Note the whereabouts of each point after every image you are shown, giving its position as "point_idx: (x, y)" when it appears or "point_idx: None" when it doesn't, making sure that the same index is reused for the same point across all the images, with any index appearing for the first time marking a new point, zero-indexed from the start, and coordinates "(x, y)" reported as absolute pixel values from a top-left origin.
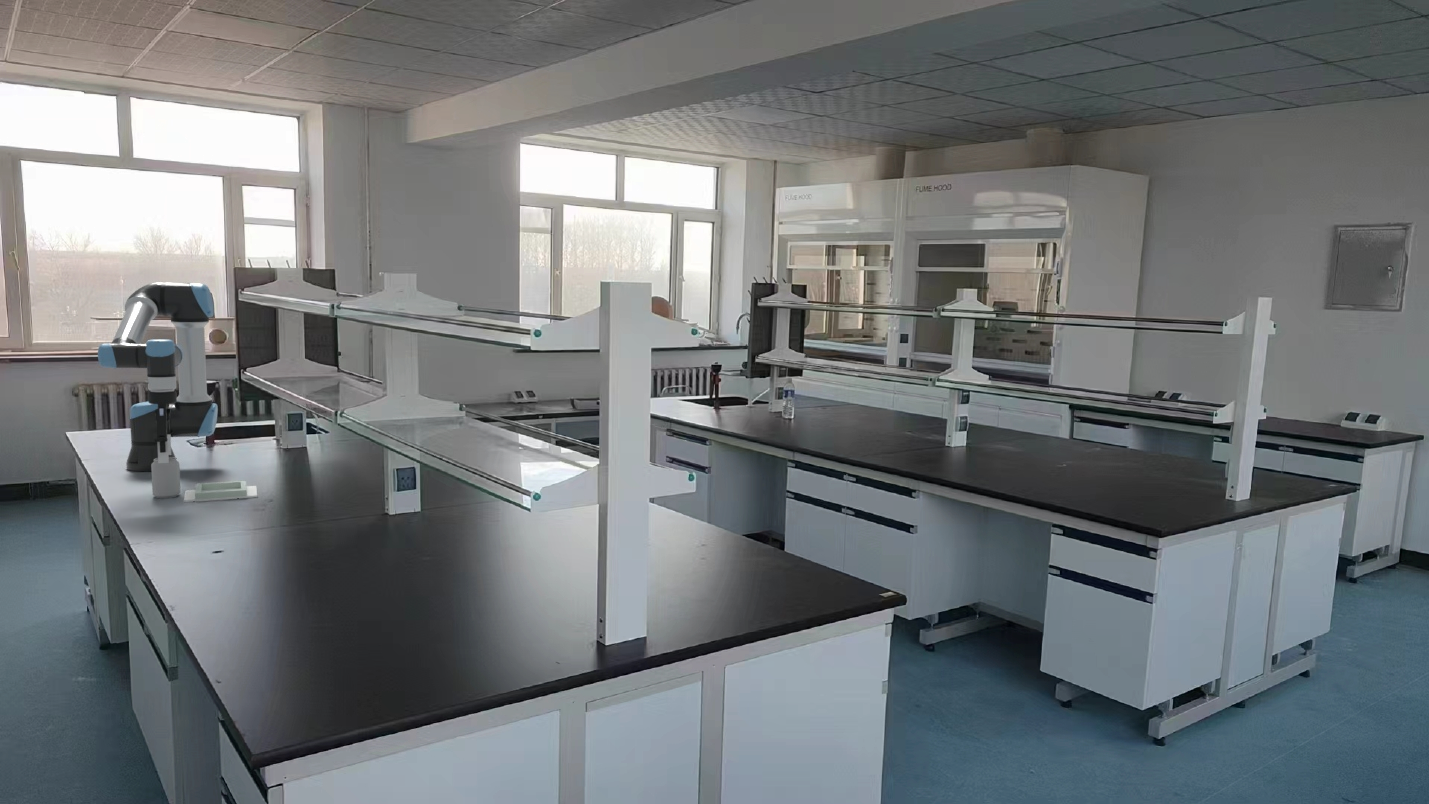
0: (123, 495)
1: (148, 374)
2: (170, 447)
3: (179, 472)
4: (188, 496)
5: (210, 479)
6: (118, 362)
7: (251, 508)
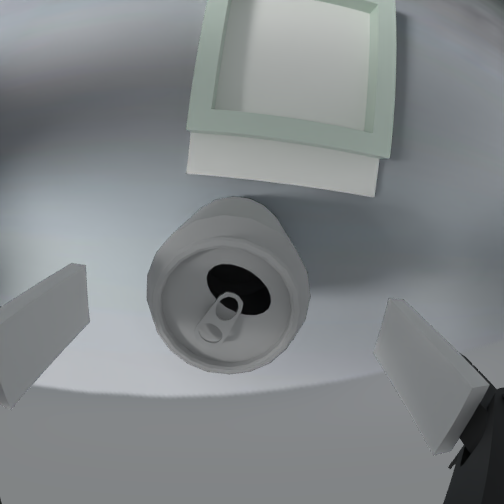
0: (166, 366)
1: None
2: (57, 287)
3: (245, 209)
4: (315, 173)
5: (19, 99)
6: None
7: (500, 54)
